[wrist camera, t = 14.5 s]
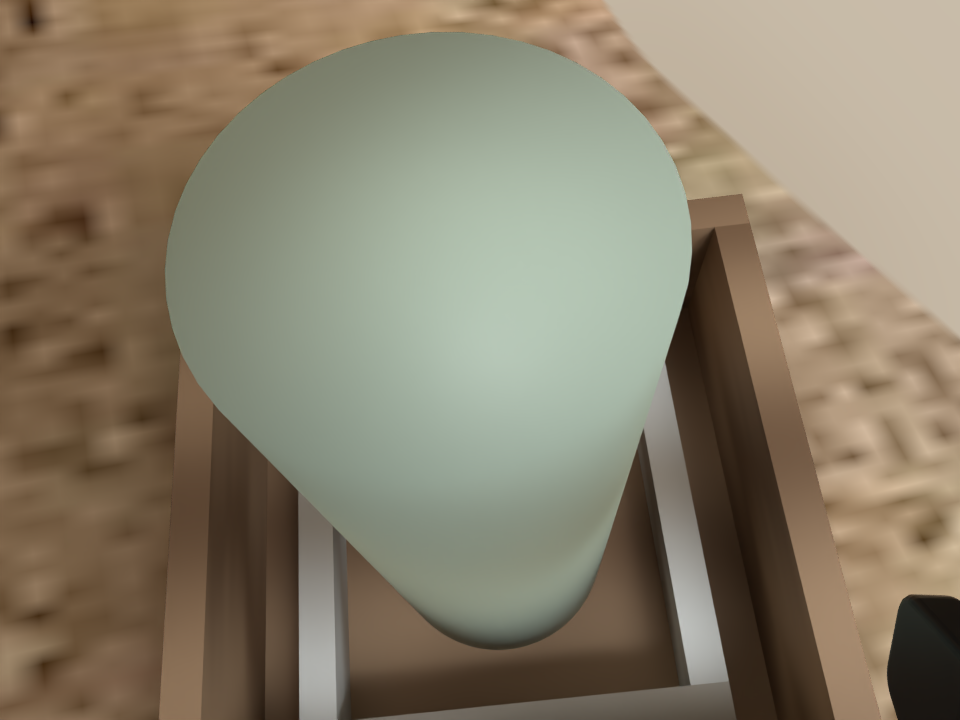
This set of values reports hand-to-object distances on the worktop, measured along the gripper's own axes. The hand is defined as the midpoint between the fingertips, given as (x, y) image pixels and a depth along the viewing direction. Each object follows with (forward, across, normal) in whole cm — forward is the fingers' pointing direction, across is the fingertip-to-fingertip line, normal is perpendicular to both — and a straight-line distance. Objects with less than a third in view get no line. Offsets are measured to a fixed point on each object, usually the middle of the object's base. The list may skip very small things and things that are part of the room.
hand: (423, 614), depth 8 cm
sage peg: (+11, 0, +6) cm, 13 cm away
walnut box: (+12, 0, +7) cm, 14 cm away
